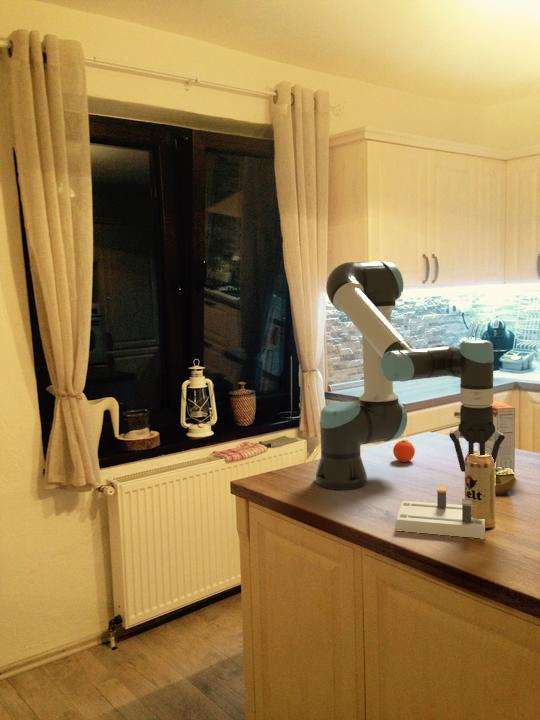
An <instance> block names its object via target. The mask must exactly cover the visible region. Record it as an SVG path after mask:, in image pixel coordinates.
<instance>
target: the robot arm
mask: <svg viewBox="0 0 540 720" xmlns="http://www.w3.org/2000/svg"><path fill="white" fill-rule="evenodd" d="M325 287H326V294H327V297H328V299H329V302H330V303H331V305H332V306H333V307H334V308H335V309H336V310H337V311H339V312H343V314H345V315H346V317H347V318H348V319H349V320H350V322H351V323H352V325H354V326H355V327H356V328H357V330H358V331H359V332H360V333H361V335H362V336H361V337H362V340H361V341H362V359H363V360H362V365H363V391H364V392H363V393H362V394H361V396H360V397H359V403H358V402H356V401H349V400H347V401H339V402H333V403H330V404H328V405H325V406H324V407H323V408H322V409H321V411H320V417H319V427H320V430H319V431H320V454H321V455H320V459H319V462H318V466H317V469H316V472H315V483H316V484H317V485H318V486H320V487H321V488H324V489H327V490H329V489H330V490H339V491H340V490H341V491H342V490H343V491H344V490H345V491H346V490H354V489H359V488H361V487H364V486H365V485H366V484H367V483H368V477H367V476H368V474H367V472H366V469H365V465H364V463H363V461H362V460H363V459H362V457H361V446H362V445H369V444H375V443H381V442H389V441H393V440H396V439H398V438H400V437H401V436H402V435H403V434H404V433H405V431H406V429H407V424H408V414H407V413H408V412H407V410H406V408H405V406H404V405H405V404H403V403H402V402H401V401H400V400H399V396H398V395H397V394H396V393H395V391H394V382H408V381H414V380H415V381H416V380H422V379H433V378H441V377H453V378H460V384H459V386H460V387H459V388H460V394H459V395H460V398H459V399H460V403H461V405H460V406H459V407H460V411H459V413H460V419H459V420H460V421H459V424H458V427H457V428H456V429H455V430H451V431H450V432H449V435H448V436H449V438H450V439H451V441H452V443H453V445H454V450H455V453H456V456H457V461H458V465H459V468H460V471H461V472H462V473H466V472H465V465H466V462H465V458H464V453H463V449H462V446H461V442H460V437H461V436H462V437H463V438H464V440H465V441H466V442H467V443H468V446H467V448H468V450H467V451H468V454H469V455H470V454H474V455H475V453H474V451H475V450H474V448H475V446H474V444H476V443H477V444H478V443H479V444H480V455H485V443H486V442H487V441H488V440H489V438H490V437H491V436H492V435H493V434H494V440H495V441H494V445H493V448H492V452H491V455H492V457H493V459H494V463H495V461H496V458H497V454H498V450H499V447H500V444H501V443H502V441H503V440H504V439H505V436H504V434H503V433H500V432H498V431H497V430H495V426H494V424H493V407H492V405H491V404H493V399H494V366H495V365H494V361H495V357H494V344H493V342H491V341H490V340H486V339H467V340H463V341H461V343H460V346H454V345H453V346H452V345H449V344H435V345H432V346H431V347H423V348H414V347H413V346H412V345H411V344H410V343H409V342H408V341H407V339H405V338H404V337H403V335H402V334H401V333H400V331H398V330H397V328H396V327H394V325H393V324H392V320H391V319H392V317H391V316H392V315H391V313H392V311H393V310H394V309H395V308H396V305H397V303H396V301H397V300H398V299H400V297H401V296H402V293H403V291H404V279H403V276H402V272H401V270H400V269H399V268H398V267H397V265H396V264H394V263H393V262H389V261H380V260H376V261H362V262H361V261H357V262H353V261H349V262H344V263H341V264H339V265H338V266H336V267H335V268H334V269H332V270H331V272H330V274H329V275H328V277H327V281H326V285H325ZM460 434H461V435H460ZM469 455H467V457H468V456H469Z"/></svg>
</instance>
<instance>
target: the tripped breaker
mask: <svg viewBox="0 0 540 720" xmlns="http://www.w3.org/2000/svg"><path fill="white" fill-rule="evenodd" d="M436 494H437V496H436V497H437V502H436V503H437V507H438V508H446V504H447V486H443V485H442V486H441V485H438V486H437V491H436Z"/></svg>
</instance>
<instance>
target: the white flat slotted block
mask: <svg viewBox="0 0 540 720" xmlns="http://www.w3.org/2000/svg"><path fill="white" fill-rule="evenodd" d="M395 522H396V525H395V526H396V532H397V531H405V532H404V533H408V532H417V533H416V534H419V533H429V534H439V535H438V536H440V535H450V536H449V537H451V536H463V537H473V538H480V539H479V540H484V539H485V540H486V523H485V522H486V519H477V518H473V517H471V522H462V504H454V503H453V504H452V503H451V504H450V503H446V508H438V507H437V502H425V501H413V500H401V503H400V506H399V509H398V513H397V517H396V521H395ZM406 531H407V532H406ZM429 534H428V535H429ZM473 538H472V539H473Z"/></svg>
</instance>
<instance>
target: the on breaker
mask: <svg viewBox="0 0 540 720" xmlns="http://www.w3.org/2000/svg"><path fill="white" fill-rule="evenodd" d="M461 500H462V502H461V505H462V522H471V506H473V505H472V504H473V501H472V500H473V499H468V498H462V499H461Z"/></svg>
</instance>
